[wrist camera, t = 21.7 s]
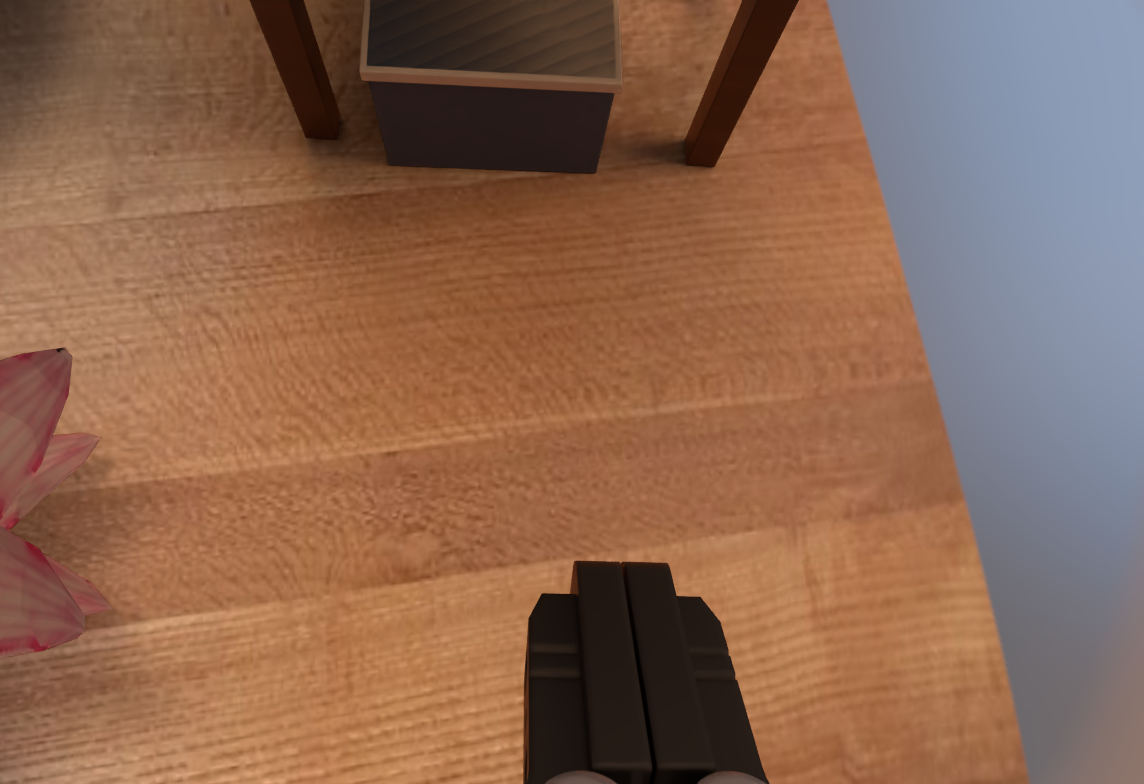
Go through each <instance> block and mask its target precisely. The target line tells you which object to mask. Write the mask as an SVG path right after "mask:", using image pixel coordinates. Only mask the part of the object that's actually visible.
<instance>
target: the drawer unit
mask: <svg viewBox="0 0 1144 784" xmlns="http://www.w3.org/2000/svg"><path fill="white" fill-rule="evenodd" d="M798 1H799V0H742V3H741V5H740V8H739V10H738V12H737V15H736V17H735V20H734V22H733V25H732V27H731V29H730V32H729V34H728V37H727V39H726V42H725V44H724V46H723V49H722V51H721V54H720V56H719V59H718V61H717V63H716V66H715V68H714V71H713V73H712V76H711V78H710V80H709V83H708V85H707V88H706V90H705V93H704V95H703V97H702V100H701V102H700V105H699V107H698V110H697V112H696V114H695V117H694V119H693V122H692V124H691V127H690V129H689V131H688V134H687V136H686V139H685V156H686V165H694V166H708V167H714V166H715V165H716V163H717V161H718V159H719V157H720V155H721V153H722V151H723V149H724V147H725V145H726V143H727V141H728V139H729V137H730V135H731V133H732V131H733V129H734V127H735V125H736V123H737V121H738V119H739V117H740V115H741V113H742V111H743V109H744V107H745V105H746V103H747V101H748V100H749V98H750V96H751V94H752V92H753V90H754V88H755V86H756V84H757V82H758V80H759V78H760V76H761V74H762V72H763V70H764V68H765V66H766V64H767V62H768V60H769V58H770V56H771V54H772V52H773V50H774V48H775V46H776V44H777V42H778V40H779V38H780V36H781V34H782V32H783V30H784V28H785V26H786V24H787V22H788V20H789V18H790V16H791V14H792V12H793V11H794V9H795V7H796V5H797V3H798ZM250 3H251V5H252V8H253V10H254V13H255V15H256V17H257V20H258V22H259V25H260V27H261V30H262V32H263V34H264V37H265V39H266V42H267V44H268V47H269V49H270V51H271V54H272V56H273V59H274V61H275V64H276V66H277V68H278V71H279V73H280V76H281V78H282V81H283V83H284V85H285V88H286V90H287V93H288V95H289V98H290V100H291V103H292V105H293V107H294V110H295V112H296V115H297V117H298V120H299V122H300V124H301V127H302V129H303V132H304V134H305V137H306V138H314V139H328V140H337V137H338V128H339V120H340V113H339V109H338V106H337V103H336V100H335V97H334V94H333V91H332V88H331V85H330V81H329V78H328V75H327V72H326V69H325V66H324V63H323V60H322V57H321V53H320V50H319V47H318V44H317V41H316V38H315V35H314V32H313V29H312V25H311V22H310V19H309V16H308V13H307V10H306V7H305V4H304V0H250Z"/></svg>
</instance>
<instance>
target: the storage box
mask: <svg viewBox="0 0 1144 784" xmlns="http://www.w3.org/2000/svg"><path fill="white" fill-rule="evenodd" d="M359 72H360V76H361V79H362V80H363V81H368V82H369V86H370V90H371V94H372V98H373V102H374V106H375V111H376V115H377V119H378V123H379V127H380V131H381V135H382V139H383V143H384V147H385V151H386V155H387V159H388V163H389V165H392V166H418V167H444V168H470V169H496V170H522V171H548V172H575V173H596V170H597V166H598V162H599V158H600V153H601V149H602V145H603V140H604V136H605V132H606V128H607V123H608V119H609V115H610V110H611V106H612V102H613V98H614V93H620V92H621V89H622V85H623V79H622V53H621V28H620V2H619V0H364V9H363V24H362V38H361V53H360V68H359Z"/></svg>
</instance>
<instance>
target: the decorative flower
mask: <svg viewBox="0 0 1144 784" xmlns="http://www.w3.org/2000/svg"><path fill="white" fill-rule="evenodd" d="M71 366H72V355H71V354H70V353H69V352H68V351H67V350H66V348H58V349H51V350H44V351H38V352H31V353H24V354H20V355H16V356H13V357H10V358H6V359H3V360H0V658H6V657H11V656H17V655H22V654H28V653H34V652H39V651H44V650H46V649H49V648H52V647H55V646H57V645H60V644H63V643H66V642H68V641H71V640H74V639H76V638H78V637H79V636H80V635H81V634H82V633H83V632H85V616H86V615H90V614H95V613H100V612H105V611H110V610H114V609H113V608H112V607H111V605H110V604H109V603H108V602H107V601H106V599H105V598H104V597H103V596H102V594H101V593H100V592H99V591H98V589H97V588H96V587H95V586H94V584H92V583H91V582H89V581H88V580H86V579H84V578H83V577H81V576H79V575H78V574H76V573H75V572H73V571H71V570H70V569H68V568H66V567H65V566H63V565H62V564H60V563H58V562H57V561H55V560H53V559H52V558H50V557H48V556H47V555H45V554H44V553H42V552H41V550H40V549H39V548H37V547H35V546H34V545H32V544H30V543H29V542H27V541H25V540H24V539H22V538H20V537H19V536H17V535H15V534H14V533H12V532H10V531H9V530H8V529H10V528H12V527H13V526H14V525H15V524H17V523H18V522H19V521H20V520H21V519H22V518H23V517H24V516H25V515H27V514H28V513H29V512H30V511H31V510H32V509H33V508H34V507H35V506H36V505H38V504H39V503H40V502H41V501H42V500H43V499H44V498H45V497H46V496H48V495H49V494H50V493H51V492H52V491H53V490H54V489H55V488H56V487H58V486H59V485H60V484H61V483H62V482H63V481H64V480H65V479H66V478H68V477H69V476H70V475H71V474H72V473H73V472H74V471H75V470H76V469H77V468H79V467H80V466H81V465H82V464H83V463H84V462H85V461H86V459H87V458H88V456H89V455H90V453H91V452H92V451H93V449H94V448H95V446H96V445H97V443H98V442H99V440H100V439H101V438H102V437H98V436H94V435H89V434H85V433H74V434H63V435H53V433H54V430H55V428H56V425H57V423H58V420H59V418H60V415H61V412H62V410H63V407H64V405H65V402H66V400H67V397H68V394H69V385H70V375H71Z"/></svg>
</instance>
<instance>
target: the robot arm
mask: <svg viewBox="0 0 1144 784" xmlns="http://www.w3.org/2000/svg"><path fill="white" fill-rule="evenodd" d="M728 651H729V650H728V647H727V644H726V640H725V637H724V633H723V630H722V626H721V623H720V621H719V620H718V618H717V617H716V616H715V615H714V613H713V612H712V611H711V610H710V608H709V607H708V606H707V605H706V603H705V602H704V601H703V600H702V598H701V597H686V596H676V592H675V588H674V583H673V579H672V575H671V571H670V567H669V565H668V564H667V563H651V562H622V563H621V564H620V562H606V561H574V565H573V572H572V581H571V590H570V594H546V593H542V594H541V596H540V598H539V600H538V602H537V604H536V606H535V607H534V609H533V611H532V613H531V615H530V617H529V621H528V635H527V649H526V662H525V676H524V756H523V784H769V782H768V780H767V778H766V776H765V773H764V771H763V768H762V765H761V761H760V758H759V754H758V751H757V747H756V744H755V740H754V737H753V733H752V730H751V727H750V723H749V720H748V716H747V713H746V709H745V706H744V702H743V699H742V695H741V692H740V688H739V685H738V682H737V680H735V671H734V668H733V664H732V661H731V657H730V656H729V655H728Z"/></svg>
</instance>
